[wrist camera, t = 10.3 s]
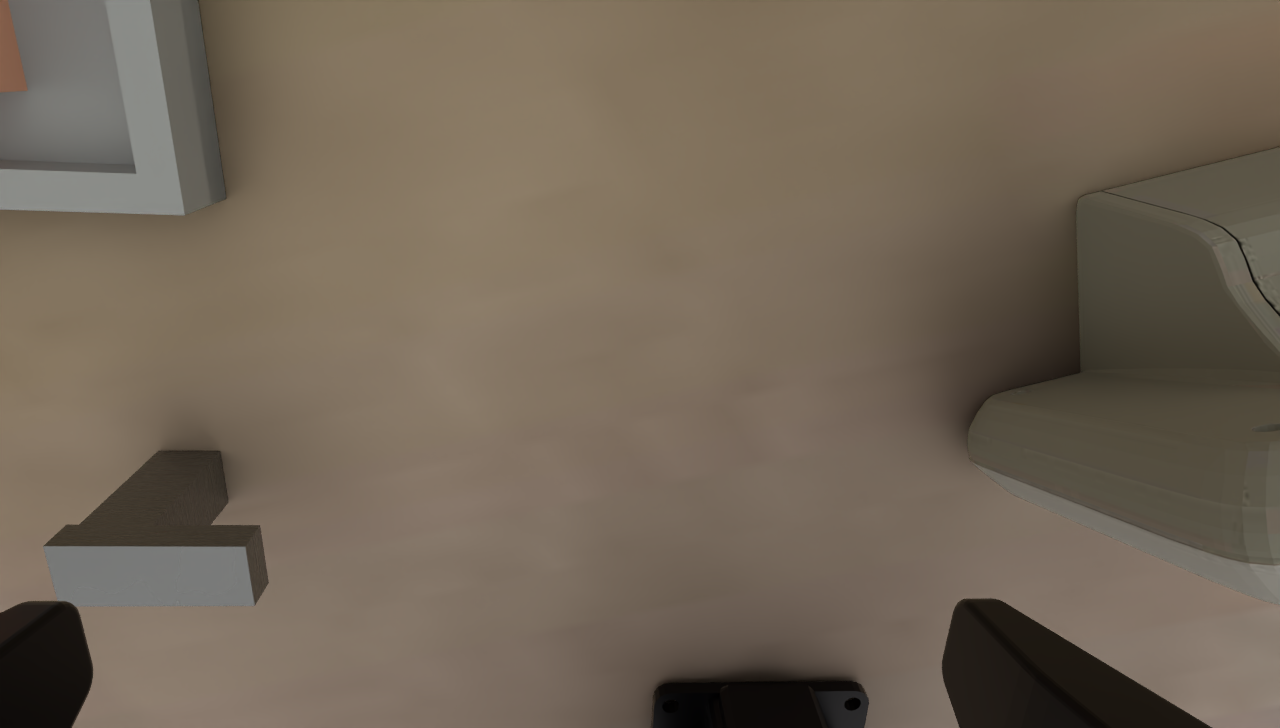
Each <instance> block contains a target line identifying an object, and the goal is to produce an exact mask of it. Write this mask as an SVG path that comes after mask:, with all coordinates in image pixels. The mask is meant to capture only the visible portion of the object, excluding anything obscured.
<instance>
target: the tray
mask: <svg viewBox="0 0 1280 728" xmlns="http://www.w3.org/2000/svg"><path fill="white" fill-rule="evenodd" d="M8 3H9V8H10V12H11V17H12V22H13V26H14V31H15V35H16V40H17V44H18V49H19V53H20V58H21V62H22V67H23V71H24V76H25V80H26V85H27V89H28V91H15V92H1V93H0V209H3V210H34V211H65V212H96V213H127V214H158V215H187V214H189V213H192V212H194V211H197V210H199V209H202V208H204V207H207V206H209V205H212V204H214V203H217V202H219V201H222V200H224V199H226V193H225V186H224V179H223V172H222V165H221V158H220V151H219V144H218V137H217V130H216V123H215V116H214V109H213V102H212V95H211V88H210V81H209V74H208V67H207V60H206V52H205V45H204V38H203V31H202V24H201V17H200V10H199V3H198V0H8Z"/></svg>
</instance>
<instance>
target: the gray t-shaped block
mask: <svg viewBox="0 0 1280 728" xmlns="http://www.w3.org/2000/svg"><path fill="white" fill-rule="evenodd" d="M227 503H228V497H227V491H226V485H225V479H224V473H223V467H222V461H221V455H220V451H158V452H157V453H156V454H155V455H154V456H153V457H151V458H150V459H149V460H148V461H147V462H146V463H145V464H144V465H143V466H142V467H141V468H140V469H139V470H137V471H136V472H135V473H134V474H133V475H132V476H131V477H130V478H129V479H128V480H127V481H126V482H125V483H124V484H122V485H121V486H120V487H119V488H118V489H117V490H116V491H115V492H114V493H113V494H112V495H111V496H110V497H108V498H107V499H106V500H105V501H104V502H103V503H102V504H101V505H100V506H99V507H98V508H97V509H96V510H94V511H93V512H92V513H91V514H90V515H89V516H88V517H87V518H86V519H85V520H84V521H83V522H82V523H80V524H79V525H66V526H65V527H64V528H63V529H62V530H60V531H59V532H58V533H57V534H56V535H55V536H54V537H53V538H52V539H51V540H49V541H48V542H47V543H46V544H45V545H44V546H43V548H44V552H45V555H46V559H47V563H48V567H49V570H50V574H51V578H52V582H53V585H54V589H55V593H56V597H57V600H58V601H67V602H69V603H72V604H73V605H74V606H255V604H256V603H257V601H258V600H259V598H260V596H261V595H262V593H263V591H264V590H265V588H266V586H267V585H268V583H269V582H268V576H267V569H266V562H265V556H264V549H263V542H262V536H261V529H260V525H211V524H212V522H213V521H214V520H215V519H216V517H217V516H218V515H219V513H220V512H221V511H222V510H223V508H224V507H225V506H226V505H227Z"/></svg>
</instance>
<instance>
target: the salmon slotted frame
mask: <svg viewBox="0 0 1280 728" xmlns="http://www.w3.org/2000/svg"><path fill="white" fill-rule="evenodd" d="M15 91H28V89H27V85H26V80H25V76H24V71H23V67H22V62H21V58H20V53H19V49H18V44H17V40H16V35H15V31H14V26H13V22H12V17H11V12H10V8H9V3H8V0H0V93H1V92H15Z"/></svg>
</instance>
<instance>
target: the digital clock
mask: <svg viewBox="0 0 1280 728" xmlns="http://www.w3.org/2000/svg"><path fill="white" fill-rule="evenodd" d="M1076 228H1077V263H1078V297H1079V331H1080V365H1081V373H1077V374H1073V375H1069V376H1065V377H1061V378H1057V379H1053V380H1049V381H1045V382H1041V383H1036V384H1032V385H1028V386H1024V387H1020V388H1016V389H1012V390H1008V391H1005V392H1001V393H998V394H995V395H992V396H991V397H990V398H988V399H987V400H986V401H985V402H984V404H983V405H982V407H981V408H980V410H979V411H978V412H977V414H976V416H975V418H974V420H973V422H972V424H971V426H970V428H969V433H968V440H967V446H968V453H969V456H970V458H969V459H970V461H971V462H972V463H973V464H974V465H975V466H976V467H978V468H979V469H980V470H981V471H983V472H984V473H985V474H986V475H987V476H989V477H990V478H991V479H992V480H994V481H995V482H996V483H998V484H999V485H1000V486H1002V487H1003V488H1004V489H1006V490H1007V491H1008V492H1010V493H1011V494H1013V495H1015V496H1017V497H1019V498H1021V499H1024V500H1026V501H1028V502H1031V503H1033V504H1035V505H1038V506H1040V507H1042V508H1044V509H1047V510H1049V511H1051V512H1054V513H1056V514H1058V515H1061V516H1063V517H1065V518H1068V519H1070V520H1072V521H1074V522H1077V523H1079V524H1081V525H1084V526H1086V527H1088V528H1091V529H1093V530H1095V531H1098V532H1100V533H1102V534H1104V535H1107V536H1109V537H1111V538H1114V539H1116V540H1118V541H1121V542H1123V543H1125V544H1127V545H1130V546H1132V547H1134V548H1137V549H1139V550H1141V551H1144V552H1146V553H1148V554H1151V555H1153V556H1155V557H1157V558H1160V559H1162V560H1164V561H1167V562H1169V563H1171V564H1174V565H1176V566H1178V567H1181V568H1183V569H1185V570H1187V571H1190V572H1192V573H1194V574H1197V575H1199V576H1201V577H1204V578H1206V579H1208V580H1211V581H1213V582H1216V583H1218V584H1221V585H1223V586H1226V587H1228V588H1231V589H1233V590H1236V591H1238V592H1241V593H1243V594H1246V595H1249V596H1252V597H1254V598H1257V599H1260V600H1263V601H1266V602H1270V603H1274V604H1278V605H1280V147H1278V148H1274V149H1270V150H1266V151H1262V152H1258V153H1254V154H1250V155H1246V156H1242V157H1238V158H1233V159H1229V160H1225V161H1221V162H1217V163H1213V164H1209V165H1205V166H1201V167H1197V168H1193V169H1189V170H1185V171H1181V172H1177V173H1173V174H1169V175H1165V176H1160V177H1156V178H1152V179H1148V180H1144V181H1140V182H1136V183H1132V184H1128V185H1124V186H1120V187H1116V188H1112V189H1108V190H1104V191H1100V192H1096V193H1092V194H1087V195H1084V196H1082V197H1081V198H1080V199H1079V200H1078V203H1077V210H1076Z"/></svg>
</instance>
